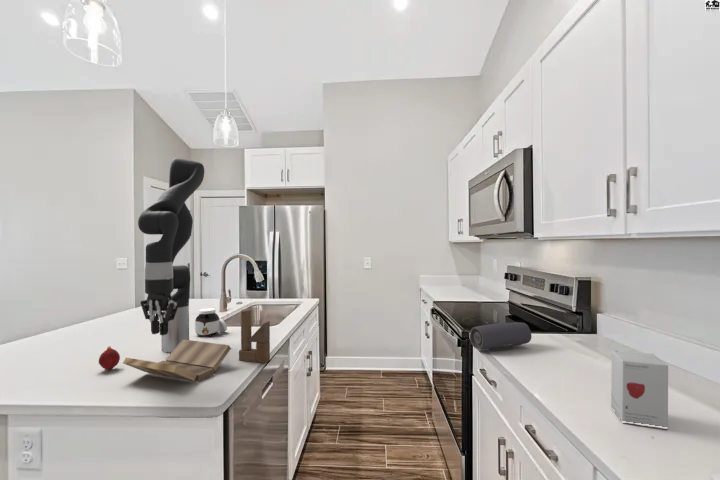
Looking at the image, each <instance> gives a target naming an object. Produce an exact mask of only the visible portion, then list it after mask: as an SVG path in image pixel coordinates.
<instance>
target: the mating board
mask: <svg viewBox="0 0 720 480" xmlns="http://www.w3.org/2000/svg"><path fill="white" fill-rule="evenodd" d="M157 363H163V364H169V365H175V366H178V367H181V368H183V369H185V370H187V371H190V372H192V373H194V374H197V376H196V378H195V380H194V382H201V381H204V380H206V379H208V378H210V377H212V376H214V372H215V371H214V369H213V368H206V367H200V366H194V365H188V364H181V363H175V362H169V361H166V360H162V361H159V362H157ZM147 373H149V372H147ZM149 374H150V373H149ZM152 374H154V373H152ZM154 375H155V374H154ZM158 375H160V374H158ZM163 376H165V375H163ZM169 377H171V376H169ZM171 378H172V377H171ZM175 378H177V377H175ZM177 379H178V378H177ZM181 379H182V378H180V380H181ZM182 380H183V379H182ZM186 380H187V381H189V380H188V379H186ZM192 381H193V380H191V382H192Z"/></svg>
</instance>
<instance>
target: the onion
mask: <svg viewBox="0 0 720 480" xmlns="http://www.w3.org/2000/svg"><path fill="white" fill-rule="evenodd" d="M120 359H121V355H120V353H119V352H118V351H117V350H116V349H113V348H112V347H111V346H110V345H109V346H107V348H106V350H104V351H103V352H102V353H101V354H100V356H99V358H98V365H100V367H101V368H103V369H104V370H107V371H111V370H112V369H114V368H115V367H116V366H118V364H119V362H120Z"/></svg>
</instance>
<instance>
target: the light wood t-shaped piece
mask: <svg viewBox="0 0 720 480" xmlns="http://www.w3.org/2000/svg"><path fill="white" fill-rule="evenodd" d="M270 323H271V322H270V321H266V322H264V323H263V324H262V325H260V327H259V328H258V329H257V330H256V332H254V334H252V310H251V309H249V308H246V309H241V311H240V346H241V347H240V349H239V351H238V360H239V361H243V362H244V361H245V362H250V363H251V362H254V363H261V364H266V363H267V362H269V361H270V360H271V357H270V356H271V348H270V347H271V346H270V344H271V343H270V340H271V339H270V337H271V336H270V335H271V333H270V332H271V331H270V328H271V327H270ZM252 343H255V348H252Z"/></svg>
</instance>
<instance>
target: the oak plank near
mask: <svg viewBox="0 0 720 480" xmlns="http://www.w3.org/2000/svg"><path fill="white" fill-rule="evenodd" d="M122 364H123V365H126V366H129V367H131V368H135V369H137V370H139V371H142V372H144V373H148V372H149V374H153V373H154V375H159V374H160V375H161V376H164V375H165V376H166V377H170V376H171V378H176V377H177V379H181V378H182V380H187V379H188V380H187V381H192V380H193V381H194V380H195V378H196V376H197V374H194V373H192V372H190V371H187V370H185V369H183V368H181V367H178V366H175V365H169V364H163V363H158V362H156V361H150V360H143V359H137V358H131V357H125V359H124V360H123V362H122ZM194 382H195V381H194Z"/></svg>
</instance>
